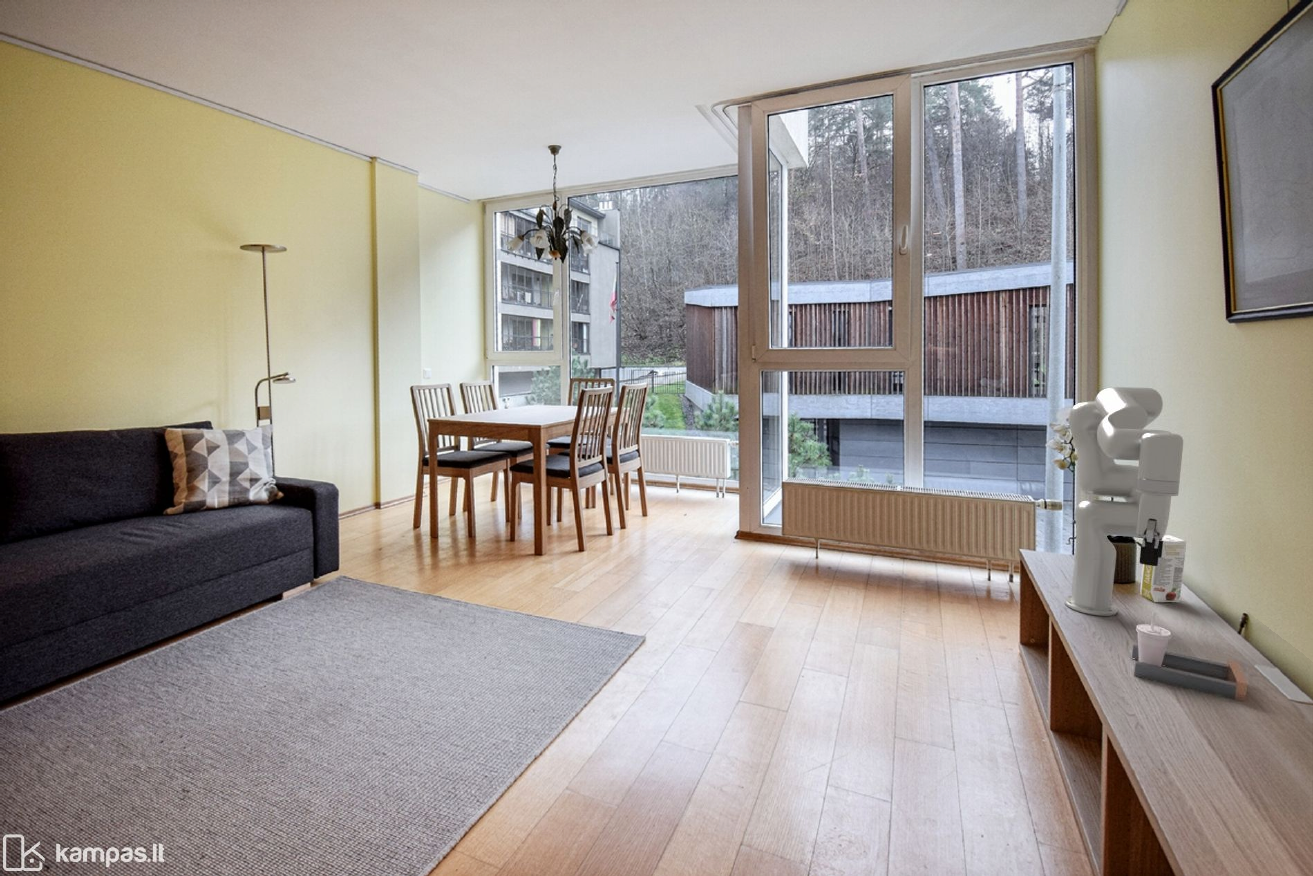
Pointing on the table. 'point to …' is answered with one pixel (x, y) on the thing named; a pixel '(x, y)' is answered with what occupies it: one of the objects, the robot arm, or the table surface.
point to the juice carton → (1165, 572)
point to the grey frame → (1230, 672)
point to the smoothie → (1152, 642)
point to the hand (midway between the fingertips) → (1150, 560)
